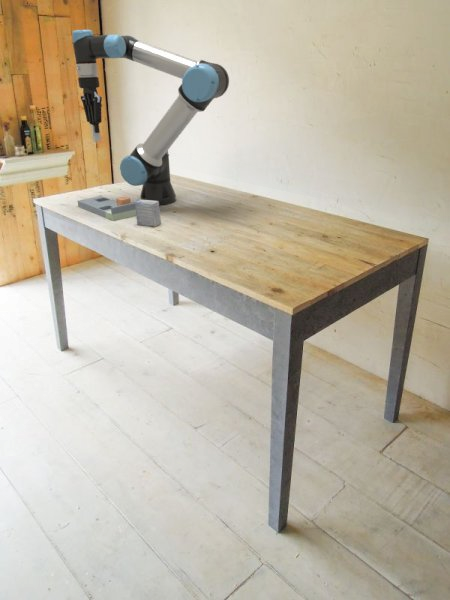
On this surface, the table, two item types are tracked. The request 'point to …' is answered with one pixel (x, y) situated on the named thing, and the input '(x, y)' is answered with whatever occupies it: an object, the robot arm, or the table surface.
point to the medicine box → (147, 212)
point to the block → (123, 201)
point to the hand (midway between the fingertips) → (96, 141)
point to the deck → (108, 208)
